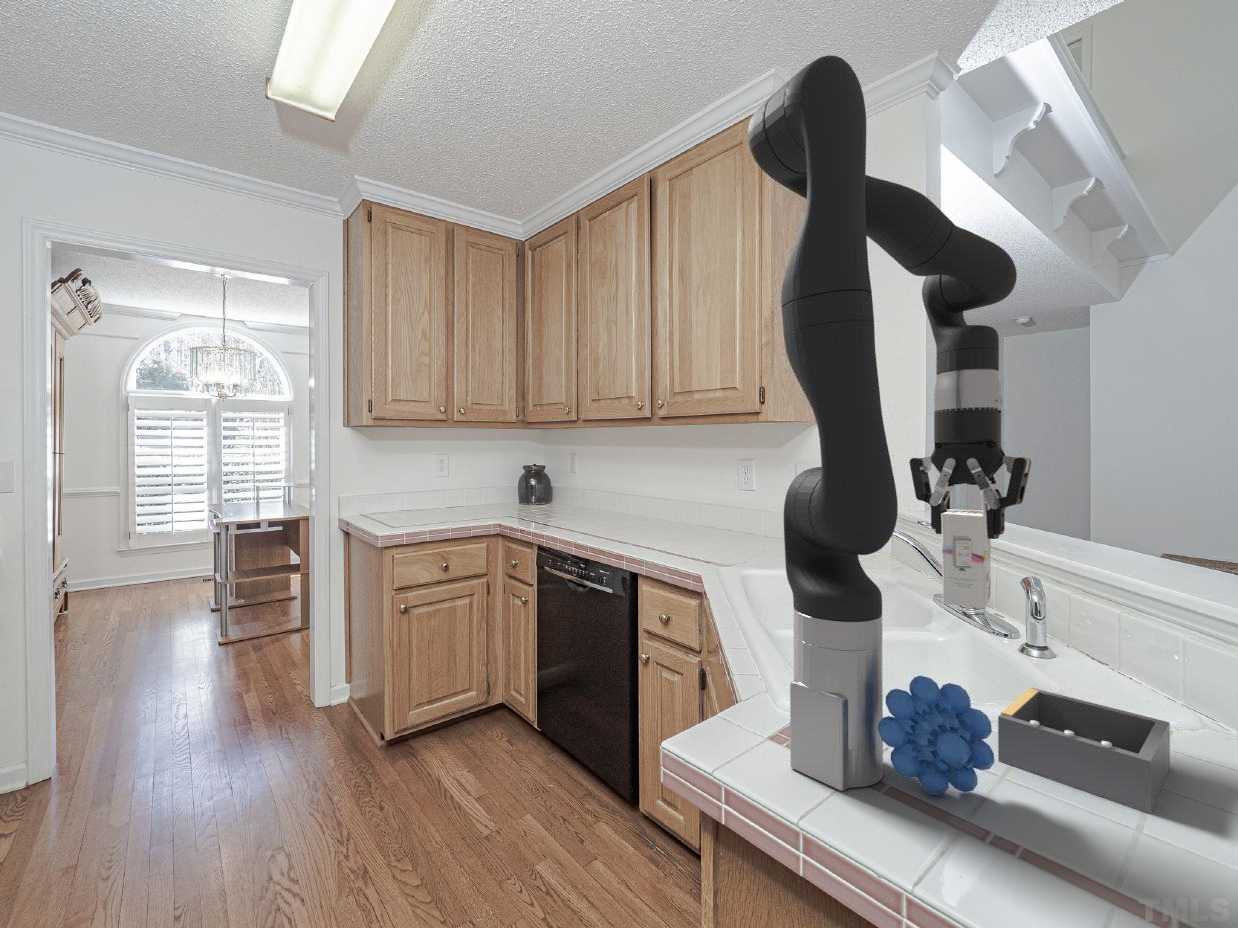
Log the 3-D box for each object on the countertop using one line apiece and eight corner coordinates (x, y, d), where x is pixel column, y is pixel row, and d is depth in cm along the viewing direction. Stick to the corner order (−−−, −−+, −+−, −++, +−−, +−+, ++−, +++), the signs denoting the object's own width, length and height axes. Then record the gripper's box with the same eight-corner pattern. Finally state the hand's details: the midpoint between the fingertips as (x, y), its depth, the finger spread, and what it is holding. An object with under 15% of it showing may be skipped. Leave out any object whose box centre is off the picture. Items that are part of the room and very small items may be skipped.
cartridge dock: (1150, 813, 54) (1150, 757, 54) (998, 760, 64) (998, 712, 64) (1169, 767, 62) (1169, 718, 62) (1032, 726, 72) (1031, 684, 72)
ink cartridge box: (949, 591, 79) (949, 487, 79) (991, 597, 76) (991, 488, 76) (939, 603, 72) (940, 489, 72) (986, 610, 69) (986, 490, 69)
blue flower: (900, 821, 53) (900, 693, 53) (868, 780, 60) (867, 667, 60) (1023, 820, 53) (1023, 692, 53) (977, 779, 60) (976, 666, 60)
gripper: (898, 410, 77) (898, 533, 77) (1022, 401, 66) (1022, 544, 66) (921, 413, 82) (921, 529, 82) (1041, 405, 71) (1041, 539, 71)
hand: (966, 535), depth 74 cm, fingers closed on ink cartridge box, 5 cm apart
